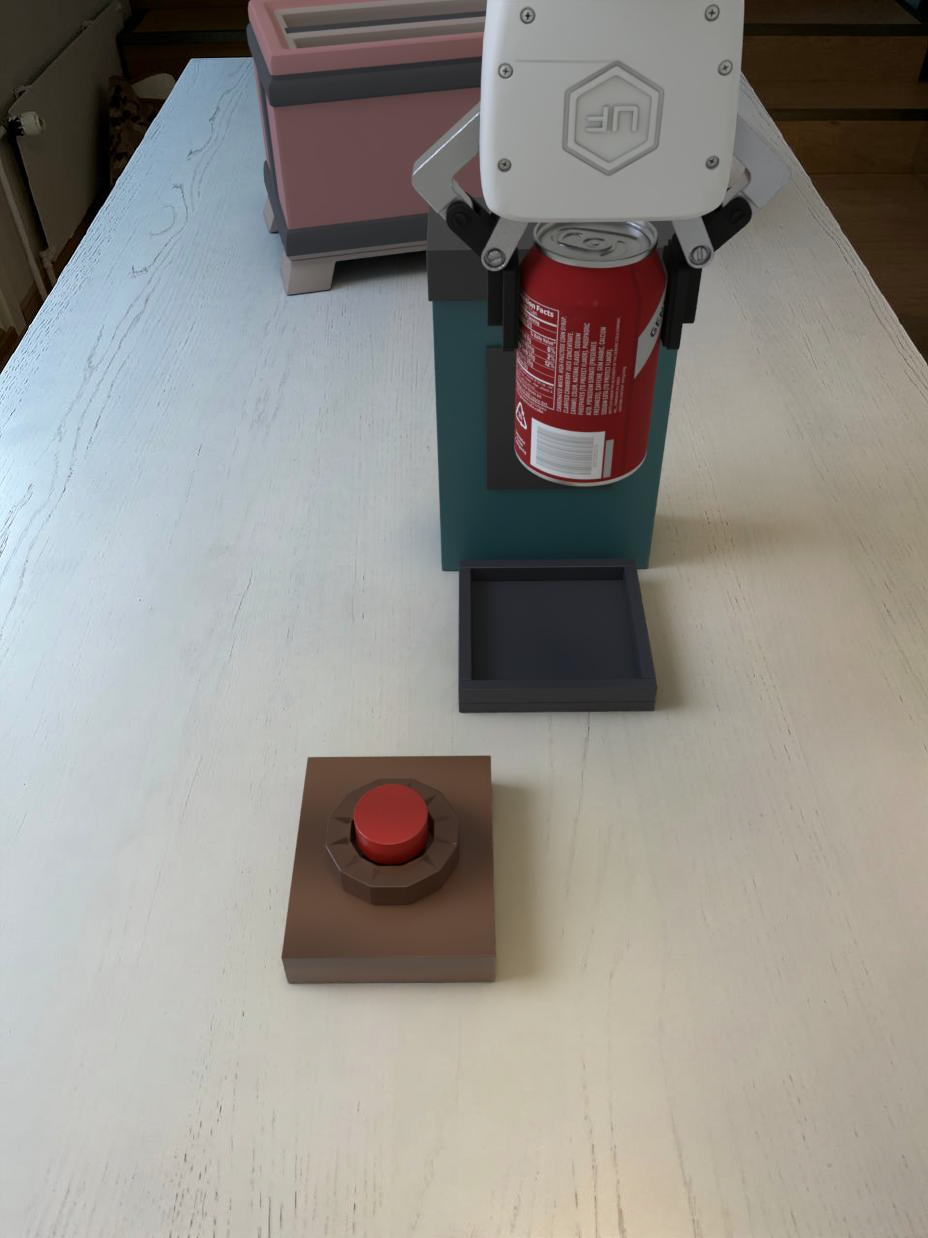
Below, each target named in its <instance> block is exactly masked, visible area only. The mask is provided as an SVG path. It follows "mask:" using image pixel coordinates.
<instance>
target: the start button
mask: <svg viewBox="0 0 928 1238" xmlns="http://www.w3.org/2000/svg"><path fill="white" fill-rule="evenodd" d="M354 824H355V831H356V838H357V843H358V846H359V848H360V850H361V851H362V853H363V854H364V855H365V856H366V857H368V858H369V859H371V860H372V861H375V862H377V863H380V864H385V865H396V864H401V863H405V862H407V861H410V860H411V859H413V858H415V857H416V856H417V855H418V854H419V853H420V852H421V851H422V850H423V849H424V847H425V846H426V843H427V841H428V836H429V828H428V811H427V806H426V803H425V801H424V799H423V798H422V797H421V795H420V794H418V793H417V792H416V791H415V790H413V789H411V788H409V787H407V786H403V785H398V784H387V785H382V786H378V787H376V788H374V789H372V790H370V791H368V792H367V793H366V794H364V795H363V796H362V797H361V799H360V800H359V801H358V803H357V805H356V807H355V810H354Z"/></svg>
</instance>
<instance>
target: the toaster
mask: <svg viewBox="0 0 928 1238" xmlns="http://www.w3.org/2000/svg"><path fill="white" fill-rule="evenodd" d="M486 9H487V0H249V1H248V5H247V12H248V13H247V14H248V21H249V23H247V26H246V29H245V30H246V37H247V38H246V39H247V44H248V47H249V51H250V53H251V56H252V61H253V70H254V77H255V84H256V92H257V99H258V106H259V113H260V121H261V129H262V136H263V144H264V150H265V151H264V152H265V158H266V159H265V160H264V161H263V169H262V171H263V183H264V186H265V190H266V193H267V197H266V201H265V204H264V207H263V211H262V214H263V217H264V220H265V224H266V228H267V231H268V233H277V232H278V234H279V237H280V240H281V243H282V246H283V247H282V253H281V259H280V266H279V273H280V277H281V281H282V283H283V287H284V291H285V295H286V296H291V295H298V294H305V293H306V294H307V293H314V292H321V291H328V290H330V289H331V287H332V282H333V276H334V273H335V266H336V262H340V261H342V262H343V261H347V260H358V259H365V258H375V257H380V256H381V257H382V256H389V255H390V256H391V255H398V254H405V253H415V252H422V251H426V247H427V229H428V211H429V204H428V203H427V202H426V200H425V199H424V198H423V197H422V196H421V195H420V194H419V193H418V192H417V191H416V190H415V189H414V187H413V185H412V181H411V177H412V168H413V164H414V163H415V161H416V160H417V159H418V158H420V157H421V156H422V155H423V154H424V153H425V152H426V151H427V150H428V149H429V148H430V147H431V146H432V145H434V144H435V143H436V142H437V141H438V140H439V139H440V138H441V137H442V136H443V135H444V134H445V133H446V132H448V131H449V130H450V129H451V128H452V127H453V126H454V125H455V124H456V123H457V122H458V121H459V120H460V119H461V118H463V117H464V116H465V115H466V114H467V113H468V112H469V111H470V110H471V109H472V108H473V107H474V106H475V105H477V104H478V103H479V102H480V101H481V72H482V55H483V38H484V30H485V21H486ZM453 178H454V179H455V181H456V182H457V183H458V184H459V186H460V187H461V189H462V190H463V191H465V192H467V193H468V194H470V195H471V196H472V197H484V195H483V190H482V184H481V174H480V153H478V154H477V155H476V156H475V157H474V158H473V159H472V160H471V161H470V162H468V163H467V164H466V165H465V166H464V167H463V168H462V169H461V170H460V171H458V172H457V173H456V174H455V176H454V177H453Z"/></svg>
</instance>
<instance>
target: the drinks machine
mask: <svg viewBox="0 0 928 1238" xmlns="http://www.w3.org/2000/svg"><path fill="white" fill-rule="evenodd" d="M473 198H474V199H475V200H476V201H477V202H478V203H479V204H480V205H481V206H482V207H483V208H484V209H485V210H486V211H487V212H488V213H489V211H490V209H489V208H488V206H487V204H486V202H485V199H484V197H473ZM648 222H650V223H651V224H652V225H653V226H654V227H655V228H656V230H657V232H658V244H657V247H656V249H657V251H658V253H659V255H660V256H661V258H663V249H664V246H665V245H668V239H672V235H673V234H674V233H676V232H675V230H674V227H673V225H672V222H671V221H648ZM538 223H539V222H530V223H529V224H528V226H527V228H526V230H525V232H524V234H523V236H522V237H521V239H520V241H519V243H518V245H517V247H518V257H519V265H520V263H521V261H522V259H523V258H524V257H525V255H526V254H527V252H528V251H529V250H530V248H531V247H532V246H533V244H534V243H533V231H534V228H535V226H536V225H537V224H538ZM425 251H426V252H425V253H426V279H427V300H428V302H431V307H432V309H431V310H432V336H433V337H432V338H433V362H434V391H435V392H434V393H435V394H434V395H435V419H436V420H435V421H436V423H435V424H436V446H437V447H436V448H437V450H436V451H437V474H438V475H437V476H438V477H437V478H438V502H439V503H438V505H439V506H438V507H439V531H440V532H439V534H440V559H441V560H440V561H441V562H440V563H441V571H459V561H460V560H544V559H635V562H636V567H637V570H638V569H648V568H649V562H650V555H651V549H652V541H653V534H654V527H655V521H656V520H655V519H656V513H657V505H658V498H659V491H660V483H661V477H662V469H663V462H664V455H665V447H666V439H667V431H668V424H669V419H670V411H671V403H672V396H673V388H674V381H675V374H676V367H677V361H678V360H677V359H678V351H679V350H667V347H663V345H662V341H661V340H660V348H659V356H658V365H657V373H656V381H655V389H654V397H653V405H652V414H651V422H650V430H649V438H648V446H647V453H646V457H645V459H644V461H643V463H642V464H641V466H640V467H639V468H638V469H637V470H636V471H635V472H633V473H632V474H631V475H629V476H627V477H625V478H624V479H621V480H619V481H616V482H613V483H609V484H605V485H599V486H588V487H579V486H569V485H563V484H558V483H554V482H551V481H548V480H546V479H543V478H541V477H539V476H537V475H535V474H534V473H532V472H531V471H529V470H528V469H527V468H526V467H525V466H524V465H523V464H522V463H521V462H520V460H519V459H518V457H517V455H516V452H515V448H514V436H515V388H516V349H514V352H503V346H502V327H501V326H487V268H485V266H484V265H483V263H482V261H481V258H480V257H479V256H478V255H477V254H476V253H475V252H474V251H473V250H472V249H471V248H470V247H469V246H468V245H467V244H465V243H464V242H463V241H462V240H461V239H460V238H459V237H458V236H457V235H456V234H455V233H454V232H453V231H452V230H451V229H450V228H449V227H448V225H447V223H446V221H445V220H444V218H443V217H442V216H441V215H440V214H439V213H437V212H436V211H435V210H434V209H433V208H432V207H431V206H430V205H429V211H428V229H427V247H426V250H425Z"/></svg>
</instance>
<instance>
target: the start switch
mask: <svg viewBox="0 0 928 1238" xmlns="http://www.w3.org/2000/svg"><path fill="white" fill-rule="evenodd" d="M387 784H398V785H403V786H407V787H409V788H411V789H413V790H415V791H416V792H417V793H418V794H420V795H421V797H422V798H423V799H424V801H425V803H426V806H427V811H428V828H429V836H428V841H427V843H426V846H425V847H424V849H423V850H422V851H421V852H420V853H419V854H418V855H417V856H416V857H415V858H413V859H411V860H410V861H407V862H405V863H401V864H396V865H385V864H380V863H377V862H375V861H372V860H371V859H369V858H368V857H366V856H365V855H364V854H363V853H362V851H361V850H360V848H359V846H358V843H357V838H356V831H355V824H354V810H355V807H356V805H357V803H358V801H359V800H360V799H361V797H362V796H363V795H364V794H366V793H367V792H368V791H370V790H372V789H374V788H376V787H378V786H382V785H387ZM492 786H493V785H492V756H491V755H397V756H396V755H395V756H394V755H389V756H387V755H383V756H379V755H378V756H376V755H375V756H307V758H306V767H305V775H304V782H303V790H302V798H301V805H300V812H299V820H298V827H297V836H296V842H295V851H294V857H293V858H294V859H293V866H292V873H291V881H290V888H289V897H288V902H287V903H288V904H287V912H286V918H285V927H284V933H283V943H282V948H281V949H282V950H281V956H280V958H281V962H282V966H283V970H284V974H285V977H286V982H287V984H324V983H325V984H331V983H332V984H334V983H337V984H338V983H339V984H340V983H341V984H345V983H349V984H350V983H481V982H483V983H484V982H489V983H490V982H491V983H493V982H496V921H495V920H496V919H495V917H496V916H495V913H496V911H495V876H494V869H495V868H494V832H493V831H494V829H493V826H494V825H493V791H492V790H493V789H492Z"/></svg>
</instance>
